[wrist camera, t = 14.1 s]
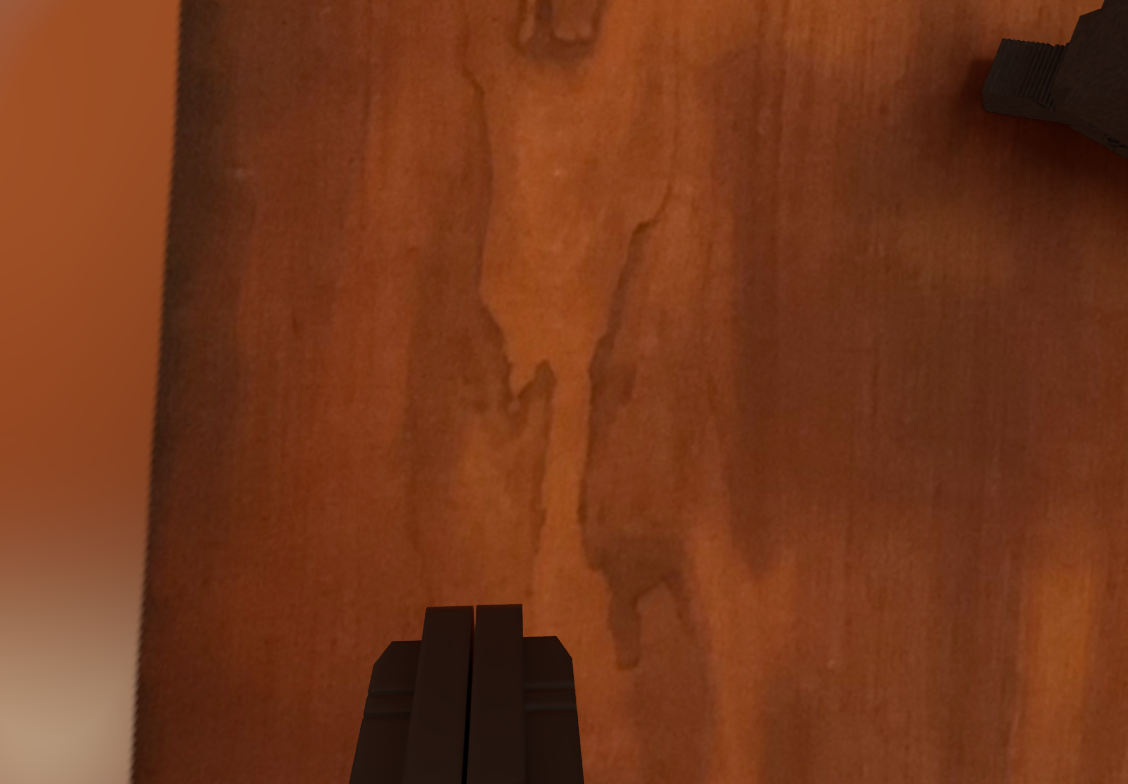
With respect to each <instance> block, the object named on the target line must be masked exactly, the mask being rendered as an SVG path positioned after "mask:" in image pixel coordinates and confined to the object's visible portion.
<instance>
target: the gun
mask: <svg viewBox="0 0 1128 784" xmlns="http://www.w3.org/2000/svg"><path fill="white" fill-rule="evenodd" d="M982 94H983V95H982V96H983V102H984V103H983V104H984V110H986V111H987V112H992V113H994V112H996V113H997V114H998V113H1001V114H1006V115H1008V114H1009V115H1011V116H1012V115H1014V116H1019V117H1024V118H1026V117H1028V118H1029V119H1030V118H1033V119H1038V120H1043V121H1044V120H1046V121H1052V122H1057V123H1062V124H1063V123H1066V124H1070V125H1069V127H1071V128H1073V129H1074V130H1076V131H1078V132H1080V133H1082V134H1083V135H1085V136H1087V137H1089V138H1091V139H1092V140H1094V141H1096V142H1098V143H1099V144H1101V145H1103V146H1105V147H1107V148H1108V149H1110V150H1112V151H1114V152H1116V153H1117V154H1119V155H1121V156H1123V157H1125V158H1126V159H1128V0H1104V3H1103V5H1102V8H1101V9H1098V10H1095V11H1093V12H1090V13H1087V14H1085V15H1082V16H1080V17H1079V20H1078V23H1077V25H1076V28H1075V30H1074V33H1073V35H1072V38H1071V40H1070V43H1066V45H1065V46H1064V45H1061V46H1060V45H1058V44H1057V45H1055V47H1053V46H1052V45H1050V44H1048V43H1047V44H1044V43H1039V42H1037V43H1035V42H1029V41H1027V42H1025V41H1024V40H1023V41H1020V40H1017V41H1016V40H1011V39H1005V38H1004V39H1002V41H1001V44H1000V46H999V49H998V51H997V54H996V57H995V59H994V62H993V64H992V67H991V69H990V72H989V74H988V77H987V79H986V82H985V84H984V87H983V90H982Z"/></svg>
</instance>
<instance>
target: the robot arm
mask: <svg viewBox="0 0 1128 784" xmlns="http://www.w3.org/2000/svg"><path fill="white" fill-rule="evenodd" d="M349 784H584V778H583V768H582V757H581V747H580V736H579V726H578V716H577V707H576V695H575V687H574V674H573V664H572V658H571V656H570V655H569V653H568V652H567V650H566V649H565V648H564V646H563V645H562V643H561V642H560V641H559V639H558V638H557V636H543V637H523V618H522V604H506V605H477V608H476V624H475V625H474V608H473V606H445V607H427V608H426V613H425V620H424V628H423V635H422V641H393V642H391V644H390V645H389V646H388V647H387V649H386V650H385V651H384V653H383V654H382V655H381V656H380V658H379V659H378V660H377V661H376V663H375V664H374V666H373V671H372V675H371V680H370V685H369V690H368V697H367V700H366V704H365V709H364V718H363V719H362V724H361V728H360V733H359V738H358V743H357V748H356V753H355V757H354V762H353V767H352V772H351V777H350V781H349Z"/></svg>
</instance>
